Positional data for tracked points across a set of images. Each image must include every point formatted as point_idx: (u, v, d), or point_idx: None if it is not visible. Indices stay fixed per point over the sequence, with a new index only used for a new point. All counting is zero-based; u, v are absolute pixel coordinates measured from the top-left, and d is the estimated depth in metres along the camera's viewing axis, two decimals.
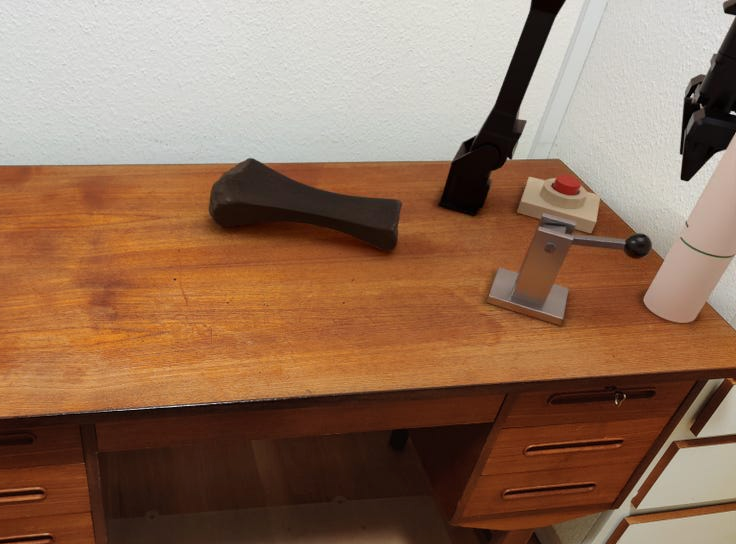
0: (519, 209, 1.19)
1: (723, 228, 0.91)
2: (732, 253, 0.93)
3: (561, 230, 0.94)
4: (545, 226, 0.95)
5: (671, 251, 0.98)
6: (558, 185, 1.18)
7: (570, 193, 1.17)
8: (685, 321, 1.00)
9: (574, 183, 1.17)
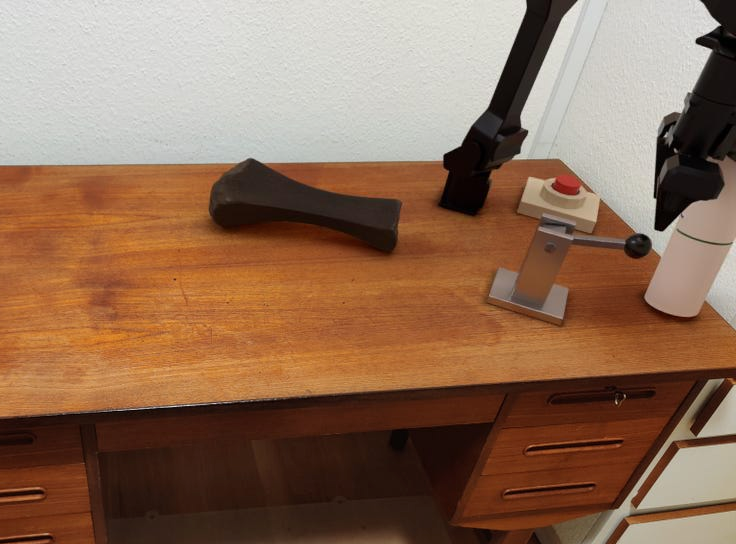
0: (519, 209, 1.19)
1: (718, 214, 0.92)
2: (729, 240, 0.94)
3: (561, 230, 0.94)
4: (545, 226, 0.95)
5: (668, 244, 0.99)
6: (558, 185, 1.18)
7: (570, 193, 1.17)
8: (688, 315, 1.00)
9: (574, 183, 1.17)
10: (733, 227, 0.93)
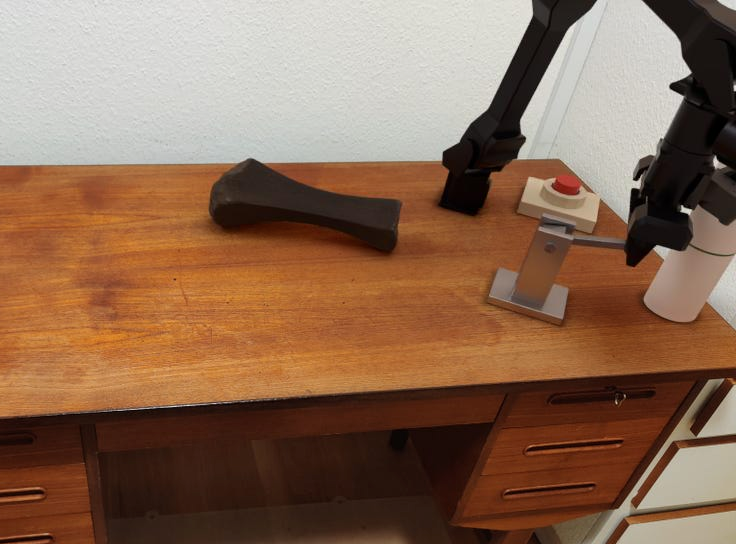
0: (519, 209, 1.19)
1: (724, 227, 0.91)
2: (733, 252, 0.93)
3: (561, 230, 0.94)
4: (545, 226, 0.95)
5: (671, 250, 0.98)
6: (558, 185, 1.18)
7: (570, 193, 1.17)
8: (686, 320, 1.00)
9: (574, 183, 1.17)
10: None
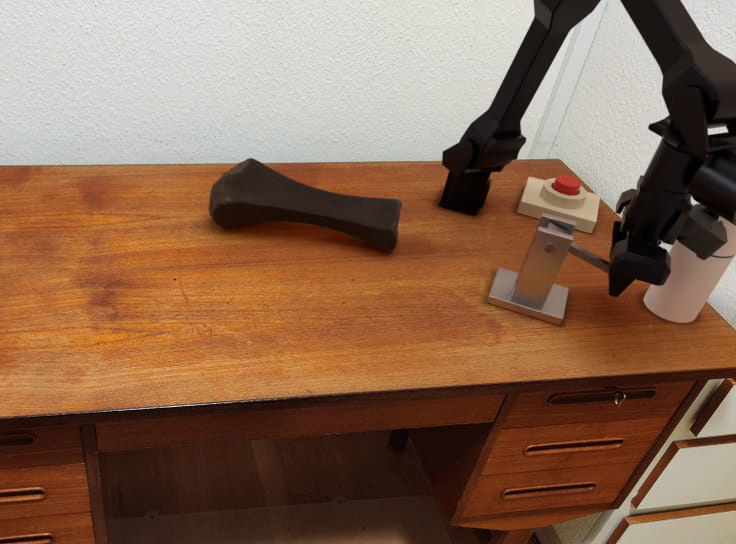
0: (519, 209, 1.19)
1: None
2: (732, 253, 0.93)
3: None
4: (551, 224, 0.94)
5: (671, 251, 0.98)
6: (558, 185, 1.18)
7: (570, 193, 1.17)
8: (685, 321, 1.00)
9: (574, 183, 1.17)
10: None
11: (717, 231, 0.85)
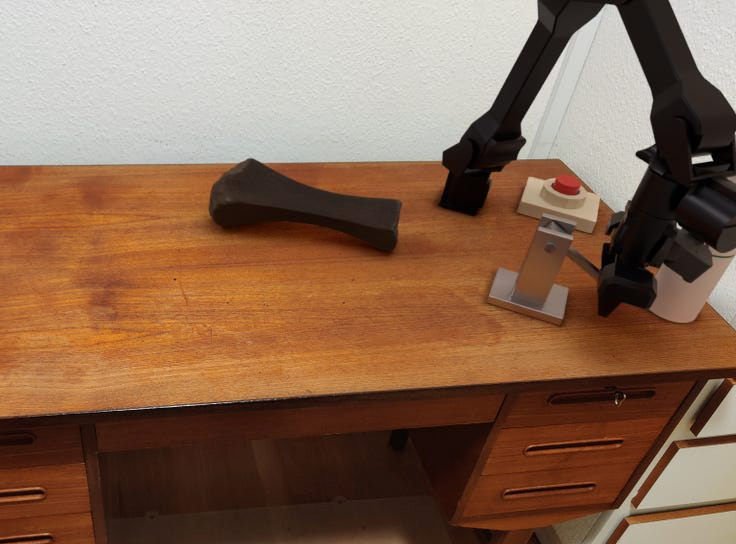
0: (519, 209, 1.19)
1: None
2: (732, 253, 0.93)
3: None
4: (554, 224, 0.94)
5: None
6: (558, 185, 1.18)
7: (570, 193, 1.17)
8: (685, 321, 1.00)
9: (574, 183, 1.17)
10: None
11: (702, 255, 0.88)
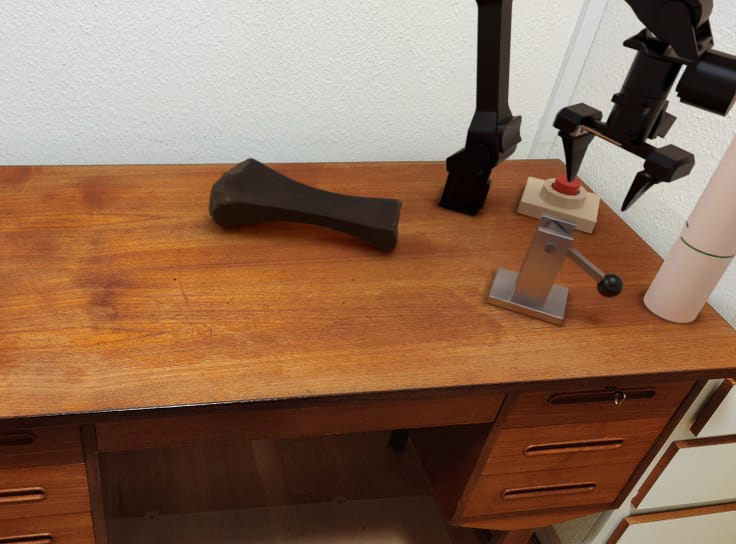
0: (519, 209, 1.19)
1: (723, 229, 0.91)
2: (732, 253, 0.93)
3: None
4: (554, 224, 0.94)
5: (671, 251, 0.98)
6: (558, 185, 1.18)
7: (570, 193, 1.17)
8: (685, 321, 1.00)
9: (574, 183, 1.17)
10: None
11: None
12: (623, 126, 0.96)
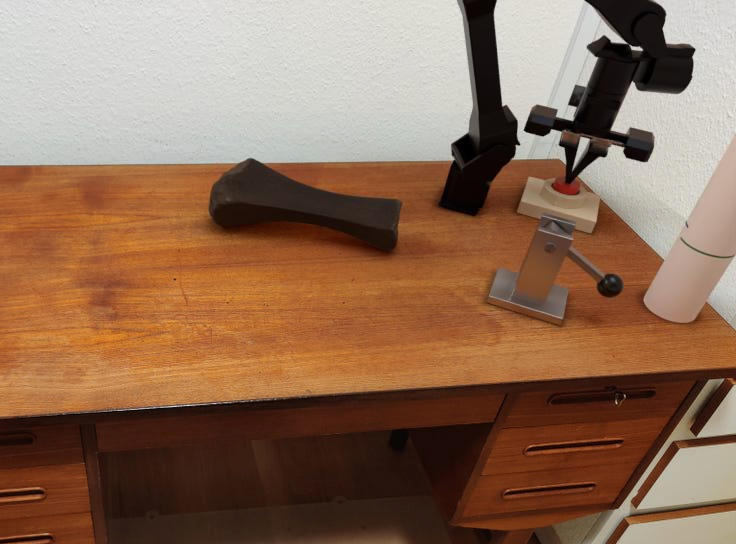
0: (519, 209, 1.19)
1: (723, 229, 0.91)
2: (732, 253, 0.93)
3: None
4: (554, 224, 0.94)
5: (671, 251, 0.98)
6: (557, 186, 1.18)
7: None
8: (685, 321, 1.00)
9: (573, 185, 1.18)
10: None
11: None
12: (599, 122, 1.08)
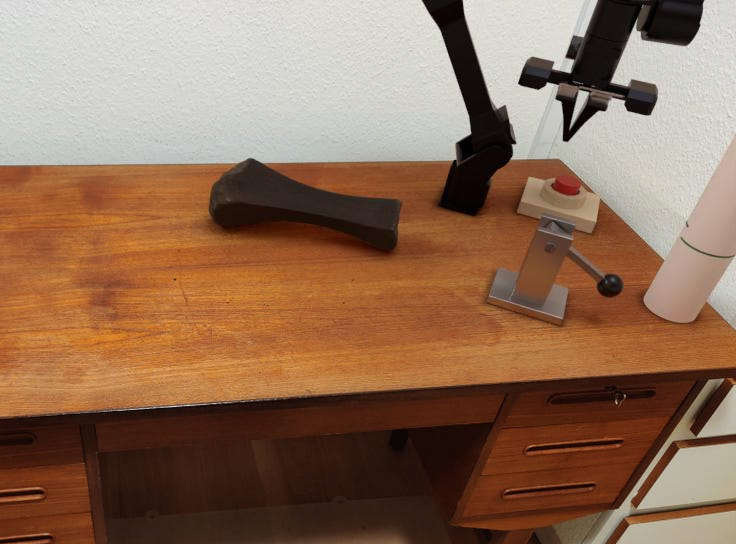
0: (519, 209, 1.19)
1: (723, 229, 0.91)
2: (732, 253, 0.93)
3: None
4: (554, 224, 0.94)
5: (671, 251, 0.98)
6: (558, 185, 1.18)
7: (570, 193, 1.17)
8: (685, 321, 1.00)
9: (574, 183, 1.17)
10: None
11: None
12: (598, 72, 1.01)
